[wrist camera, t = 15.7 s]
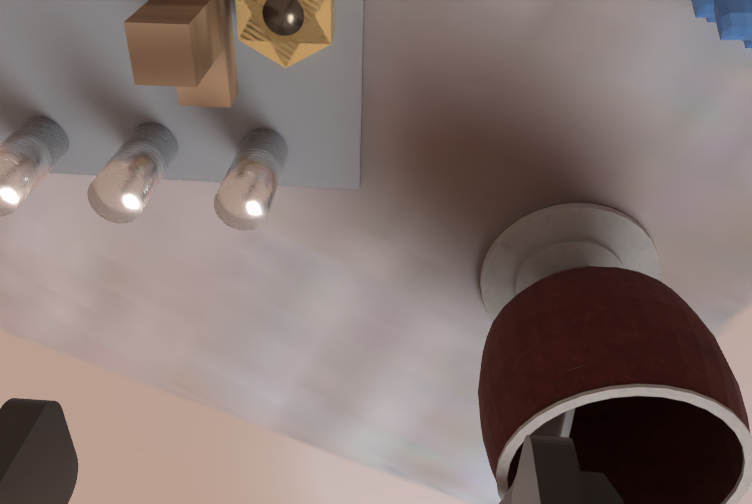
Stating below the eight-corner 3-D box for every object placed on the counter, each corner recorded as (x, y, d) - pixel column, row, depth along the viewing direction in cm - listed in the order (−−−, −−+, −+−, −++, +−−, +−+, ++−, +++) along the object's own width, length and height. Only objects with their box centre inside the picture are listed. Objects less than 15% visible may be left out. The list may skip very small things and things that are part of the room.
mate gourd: (664, 171, 45) (800, 405, 29) (675, 333, 53) (789, 593, 36) (426, 221, 48) (427, 458, 32) (468, 367, 56) (486, 621, 39)
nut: (241, -56, 38) (231, -46, 36) (335, -52, 38) (330, -41, 36) (249, 50, 41) (240, 65, 39) (335, 55, 41) (330, 70, 39)
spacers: (-87, -261, 34) (-193, -266, 28) (271, -247, 33) (239, -249, 27) (27, 158, 46) (-29, 214, 40) (289, 172, 46) (270, 231, 40)
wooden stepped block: (164, -92, 37) (108, -60, 31) (221, -90, 37) (177, -58, 31) (189, 90, 43) (146, 150, 36) (238, 92, 43) (205, 153, 36)
